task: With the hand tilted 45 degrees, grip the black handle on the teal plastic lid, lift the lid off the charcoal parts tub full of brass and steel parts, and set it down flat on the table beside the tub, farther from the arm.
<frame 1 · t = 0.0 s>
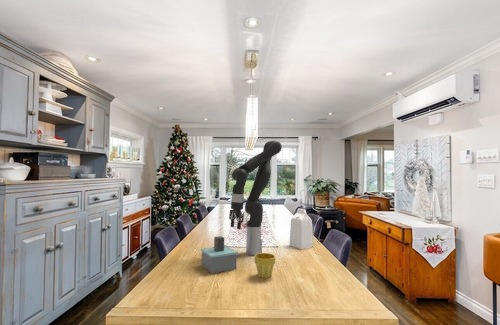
hand: (235, 228, 168), 17 cm above the table, tool pointing down, fingers open, 8 cm apart
plant pot: (264, 276, 137), on the table
lid: (219, 252, 148), point 8 cm above the table, touching tub
milk: (301, 246, 193), on the table
tub: (218, 267, 148), on the table
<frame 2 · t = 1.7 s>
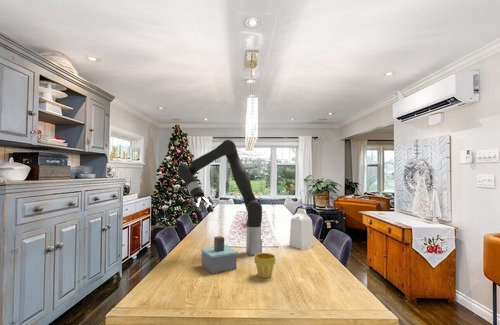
hand: (206, 212, 157), 28 cm above the table, tool tilted 45°, fingers open, 8 cm apart
nothing on the table moved.
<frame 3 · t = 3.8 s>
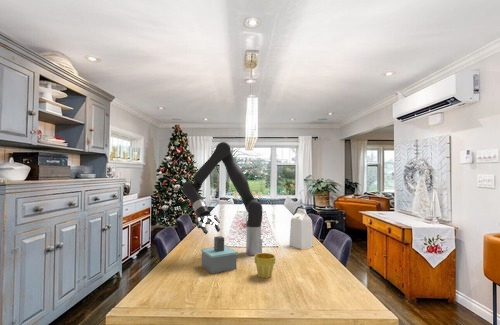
hand: (212, 232, 152), 18 cm above the table, tool tilted 45°, fingers open, 8 cm apart
nothing on the table moved.
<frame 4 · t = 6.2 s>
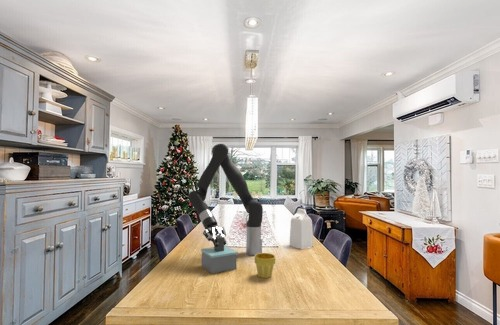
hand: (221, 245, 147), 12 cm above the table, tool tilted 45°, fingers closed on lid, 5 cm apart
lid: (219, 252, 148), point 8 cm above the table, touching gripper, tub
everything else where it was.
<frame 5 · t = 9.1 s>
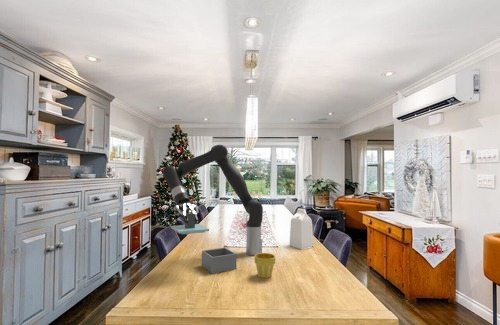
hand: (192, 221, 139), 26 cm above the table, tool tilted 45°, fingers closed on lid, 5 cm apart
lid: (189, 229, 140), point 22 cm above the table, touching gripper
everything else where it was.
when the fingers open (6 cm above the table, at t = 12.2 s): lid drops 2 cm, on the table.
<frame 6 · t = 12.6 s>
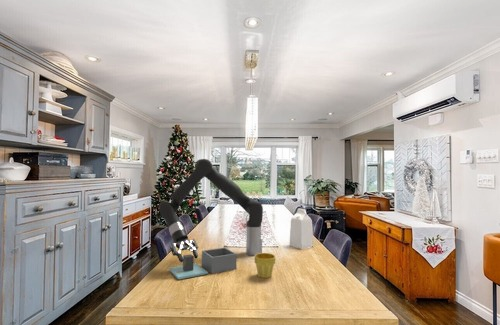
hand: (189, 259, 138), 7 cm above the table, tool tilted 45°, fingers open, 8 cm apart
lid: (188, 271, 139), on the table
everything else where it was.
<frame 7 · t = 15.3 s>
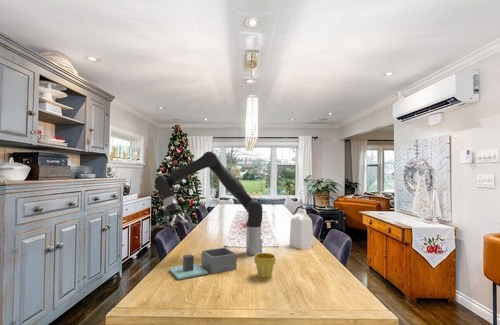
hand: (181, 231, 151), 19 cm above the table, tool tilted 40°, fingers open, 8 cm apart
nothing on the table moved.
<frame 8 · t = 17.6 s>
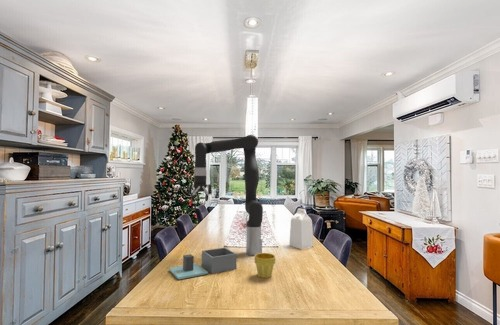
hand: (199, 201, 169), 33 cm above the table, tool pointing down, fingers open, 8 cm apart
nothing on the table moved.
at the end: lid touching table; lid inside the target area (0.1 cm from its centre), point 0.5 cm above the table; lid tilted 0° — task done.
